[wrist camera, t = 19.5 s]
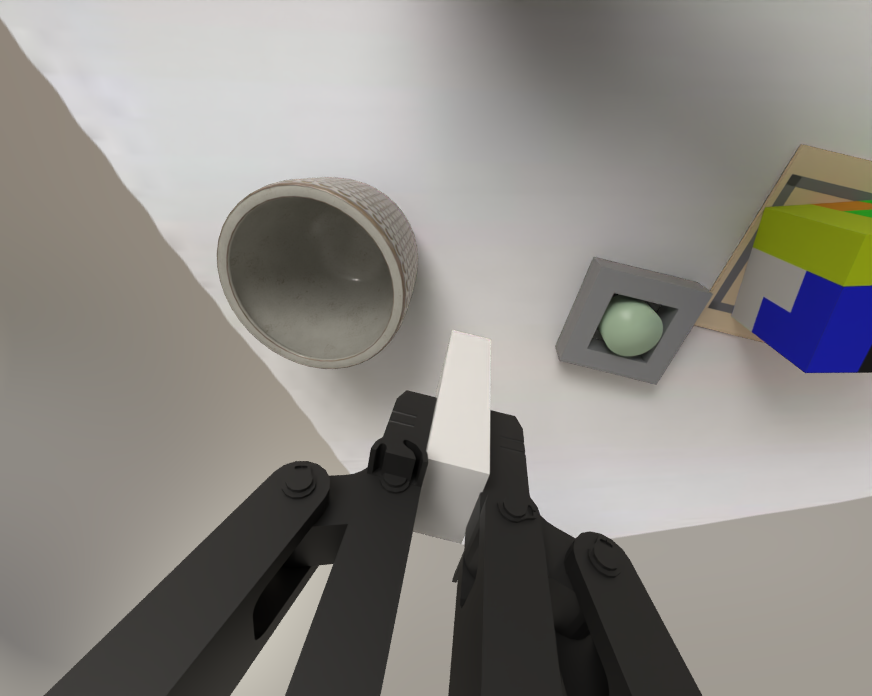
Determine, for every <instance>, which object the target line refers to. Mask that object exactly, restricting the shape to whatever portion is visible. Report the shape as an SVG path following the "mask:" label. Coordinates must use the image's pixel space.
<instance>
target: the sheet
mask: <svg viewBox="0 0 872 696" xmlns="http://www.w3.org/2000/svg"><path fill="white" fill-rule="evenodd" d="M865 200H872V161H869V160H865V159H861V158H856V157H852V156H848V155H844V154H840V153H836V152H832V151H827V150H823V149H819V148H815V147H811V146H807V145H800V147H799V148H798V150H797V151H796V153H795V155H794V156H793V158H792V159H791V161H790V163H789V164H788V166H787V167H786V169H785V171H784V172H783V174H782V176H781V177H780V179H779V180H778V182H777V184H776V185H775V187H774V188H773V190H772V192H771V193H770V195H769V197H768V198H767V200H766V201H765V203H764V205H763V206H762V208H761V209H760V211H759V213H758V214H757V216H756V218H755V219H754V221H753V222H752V224H751V226H750V227H749V229H748V230H747V232H746V234H745V235H744V237H743V238H742V240H741V242H740V243H739V245H738V247H737V248H736V250H735V251H734V253H733V255H732V256H731V258H730V259H729V261H728V263H727V264H726V266H725V268H724V269H723V271H722V272H721V274H720V276H719V277H718V279H717V280H716V282H715V284H714V285H713V287H712V289H711V290H710V292H711V293H713V295H712V297H711V299H710V300H709V302H708V303H707V305H706V306H705V308H704V310H703V311H702V313H701V314H700V316H699V318H698V319H697V321H696V322H695V324H694V325H695V326H699V327H703V328H707V329H711V330H715V331H719V332H723V333H727V334H731V335H735V336H740V337H744V338H748V339H752V340H756V341H760V342H764V341H763V340H761V339H760V338H759V337H757V336H756V335H755V334H754V333H752V332H751V331H750V330H748V329H747V328H746V327H744V326H743V325H742V324H740V323H739V322H738V321H737V320H735V319H734V318H733V317H731V315H732V312H733V309H734V306H735V302H736V299H737V296H738V293H739V289H740V286H741V283H742V280H743V276H744V273H745V270H746V267H747V263H748V260H749V257H750V254H751V250H752V247H753V244H754V241H755V237H756V234H757V231H758V228H759V224H760V221H761V218H762V215H763V211H764V208H765V207H775V206H790V205H805V204H820V203H835V202H850V201H865ZM764 343H765V342H764Z"/></svg>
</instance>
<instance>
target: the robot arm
mask: <svg viewBox="0 0 872 696" xmlns="http://www.w3.org/2000/svg"><path fill="white" fill-rule="evenodd" d="M490 383H491V339H487V338H483V337H479V336H475V335H471V334H467V333H463V332H459V331H455V330H452V333H451V337H450V341H449V344H448V348H447V352H446V356H445V360H444V364H443V367H442V371H441V375H440V379H439V383H438V386H437V391H436V396H435V397H431V396H427V395H423V394H419V393H415V392H411V391H405V392H404V393H403V394H402V395H401V396H399V397H398V398H397V400H396V403H395V405H394V408H393V411H392V414H391V416H390V419H389V422H388V425H387V427H386V430H385V433H384V436H383V437H382V438H380V439H379V440H377V441H376V442H375V443H374V445H373V446H372V448H371V451H370V457H369V463H368V467H367V468H366V469H364V470H362V471H360V472H358V473H355V474H350V475H337V476H328V474H327V472H326V470H325V469H323V468H322V467H321V466H319V465H318V464H315V463H311V462H308V461H295V462H293V463H289V464H286V465H283V466H282V467H281V468H279V469H278V470H276V471H275V472H274V473H273V474H272V475H271V476H269V478H267V480H266V481H265V482H263V483H262V484H261V485H260V486H259V487H258V488H257V489H256V490H255V491H254V492H253V493H252V494H251V495H250V496H249V497H248V498H247V499H246V500H245V501H244V502H243V503H242V504H241V505H240V506H239V507H238V508H237V509H236V510H234V511H233V513H231V514H230V515H229V516H228V517H227V518H226V519H225V520H224V521H223V522H222V523H221V524H220V525H219V526H218V527H217V528H216V529H215V530H214V531H213V532H212V533H211V534H210V535H209V536H208V537H207V538H206V539H205V540H204V541H203V542H202V543H200V544H199V545H198V546H197V547H196V548H195V549H194V550H193V551H192V552H191V553H190V554H189V555H188V556H187V557H186V558H185V559H184V560H183V561H182V562H181V563H180V564H179V565H178V566H177V567H176V568H175V569H174V570H173V571H172V572H171V573H170V574H169V575H168V576H167V577H165V578H164V579H163V580H162V581H161V582H160V583H159V584H158V585H157V586H156V587H155V588H154V589H153V590H152V591H151V592H150V593H149V594H148V595H147V596H146V597H145V598H144V599H143V600H142V601H141V602H140V603H139V604H138V605H137V606H136V607H135V608H134V609H133V610H132V611H131V612H130V613H129V614H127V615H126V616H125V617H124V618H123V619H122V620H121V621H120V622H119V623H118V624H117V625H116V626H115V627H114V628H113V629H112V630H111V631H110V632H109V633H108V634H107V635H106V636H105V637H104V638H103V639H102V640H101V641H100V642H99V643H98V644H97V645H95V646H94V647H93V648H92V650H90V651H89V652H88V653H87V654H86V655H85V656H84V657H83V658H82V659H81V660H80V661H79V662H78V663H77V664H76V665H75V666H74V667H73V668H72V669H71V670H70V671H69V672H68V673H67V674H66V675H65V676H64V677H63V678H62V679H61V680H59V681H58V683H56V684H55V685H54V686H53V687H52V688H51V689H50V690H49V691H48V692H47V693H46V694H45V695H44V696H230V695H231V693H232V692H233V690H234V689H235V688H236V686H237V685H238V683H239V682H240V680H241V679H242V677H243V676H244V674H245V673H246V672H247V670H248V669H249V667H250V666H251V664H252V663H253V661H254V660H255V658H256V657H257V655H258V654H259V652H260V651H261V650H262V648H263V646H264V645H265V644H266V642H267V641H268V639H269V638H270V636H271V635H272V633H273V632H274V630H275V629H276V628H277V626H278V624H279V623H280V622H281V620H282V619H283V617H284V616H285V614H286V613H287V611H288V610H289V609H290V607H291V606H292V604H293V603H294V601H295V600H296V598H297V597H298V595H299V594H300V592H301V591H302V589H303V588H304V587H305V585H306V584H307V582H308V581H309V579H310V578H311V576H312V575H313V573H314V572H315V570H316V569H317V568H318V566H319V565H327V564H333V567H332V569H331V572H330V575H329V578H328V581H327V583H326V586H325V589H324V591H323V594H322V597H321V600H320V602H319V605H318V608H317V610H316V613H315V616H314V618H313V621H312V624H311V627H310V630H309V632H308V635H307V637H306V641H305V643H304V646H303V648H302V651H301V654H300V657H299V660H298V662H297V665H296V667H295V670H294V673H293V676H292V678H291V681H290V684H289V686H288V689H287V692H286V695H285V696H380V694H381V689H382V684H383V679H384V674H385V669H386V664H387V659H388V654H389V649H390V643H391V638H392V634H393V629H394V624H395V618H396V613H397V608H398V603H399V598H400V593H401V588H402V583H403V578H404V573H405V568H406V563H407V557H408V553H409V547H410V543H411V538H412V533H413V532H417V533H421V534H425V535H429V536H433V537H437V538H440V539H444V540H448V541H452V542H456V543H460V544H461V543H462V541H463V538H464V536H465V549H464V552H463V554H462V557H461V559H460V562H459V564H458V566H457V569H456V571H455V574H454V577H453V581H452V582H457V580H458V585H457V596H456V610H455V621H454V635H453V646H452V658H451V670H450V683H449V695H448V696H702V694H701V692H700V690H699V689H698V687H697V685H696V683H695V681H694V679H693V677H692V675H691V674H690V672H689V670H688V668H687V666H686V664H685V662H684V660H683V659H682V657H681V655H680V653H679V651H678V649H677V648H676V645H675V644H674V642H673V640H672V638H671V636H670V634H669V632H668V630H667V629H666V627H665V625H664V623H663V621H662V619H661V617H660V615H659V614H658V612H657V610H656V608H655V606H654V604H653V602H652V600H651V598H650V597H649V595H648V593H647V591H646V589H645V587H644V585H643V584H642V582H641V580H640V578H639V576H638V575H637V572H636V570H635V568H634V567H633V565H632V563H631V561H630V559H629V558H628V557H627V555H626V554H625V552H624V551H623V550H622V548H620V547H619V546H618V545H617V544H616V543H615V542H613V540H611V539H609V538H607V537H606V536H604V535H602V534H599V533H595V532H585V533H581V534H580V535H579V536H578V537H577V538H574V537H572V536H570V535H568V534H567V533H565V532H563V531H561V530H559V529H558V528H556V527H554V526H553V525H551V524H550V523H548V522H547V521H546V520H545V519H544V518H543V517H541V516H540V513H539V510H538V507H537V506H536V504H535V503H534V502H533V500H532V499H531V498H530V494H529V486H528V476H527V466H526V456H525V446H524V436H523V429H522V427H521V425H520V423H519V422H518V420H517V418H516V417H515V416H512V415H508V414H504V413H500V412H496V411H492V410H490Z"/></svg>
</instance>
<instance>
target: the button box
mask: <svg viewBox="0 0 872 696" xmlns="http://www.w3.org/2000/svg"><path fill="white" fill-rule="evenodd" d="M614 293H616V294H620V295H625V296H629V297H633V298H637V299H641V300H645V301H649V302H653V303H657V304H661V306H660V308H659V310H658V311H657V313H656V314H657V315H658V316H659V317H660V319H661V321H662V324H663V332H662V335H661V338H660V340H659V341H658V343H657V344H656V345H655V346H654V347H653V348H651V349H650V350H649V351H647V352H645V353H643V354H640V355H636V356H622V355H618V354H616V353H614V352H613V351H611V350H610V349H609V348H608V346H607V345H606V343H605V341H604V340H600V339H596V338H592V337H593V335H594V333H595V331H596V329H597V327H598V325H599V323H600V321H601V319H602V316H603V314H604V312H605V310H606V308H607V306H608V304H609V302H610V300H611V298H612V296H613V294H614ZM712 295H713V293H711V292H710V291H709V290H707V289H706V288H704V287H703V286H702V285H700V284H699V283H698V282H694V281H690V280H686V279H682V278H678V277H674V276H669V275H665V274H661V273H657V272H653V271H649V270H645V269H641V268H637V267H633V266H629V265H625V264H621V263H616V262H612V261H608V260H604V259H600V258H596V257H594V258H593V260H592V262H591V265H590V267H589V269H588V271H587V274H586V276H585V278H584V281H583V283H582V285H581V288H580V290H579V292H578V295H577V297H576V299H575V302H574V304H573V306H572V309H571V311H570V313H569V316H568V318H567V320H566V323H565V325H564V327H563V330H562V332H561V334H560V337H559V339H558V341H557V344H556V346H555V347H556V350H557V354H558V357H559V360H560V361H563V362H567V363H571V364H575V365H579V366H583V367H587V368H591V369H595V370H599V371H603V372H607V373H612V374H616V375H620V376H624V377H628V378H632V379H636V380H640V381H644V382H648V383H652V384H656V385H657V383H658V381H659V380H660V378H661V377H662V375H663V373H664V372H665V370H666V369H667V367H668V365H669V364H670V362H671V361H672V359H673V357H674V356H675V354H676V353H677V351H678V350H679V348H680V346H681V345H682V343H683V342H684V340H685V338H686V337H687V335H688V334H689V332H690V330H691V329H692V327H693V326H694V324H695V322H696V321H697V319H698V318H699V316H700V314H701V313H702V311H703V310H704V308H705V306H706V305H707V303H708V302H709V300H710V299H711V297H712Z"/></svg>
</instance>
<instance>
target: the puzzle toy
mask: <svg viewBox="0 0 872 696" xmlns="http://www.w3.org/2000/svg"><path fill="white" fill-rule="evenodd" d="M731 317H733V318H734V319H735V320H737V321H738V322H739V323H740V324H742V325H743V326H744V327H746V328H747V329H748V330H750V331H751V332H752V333H754V334H755V335H756V336H757V337H759V338H760V339H761V340H763V341H764V342H765V343H767V344H768V345H769V346H770V347H772V348H773V349H774V350H776V351H777V352H778V353H780V354H781V355H782V356H784V357H785V358H786V359H787V360H789V361H790V362H791V363H793V364H794V365H795V366H797V367H798V368H799V369H801V370H802V371H803V372H804V373H871V372H872V200H865V201H850V202H835V203H820V204H805V205H790V206H775V207H765V208H764V211H763V215H762V218H761V221H760V224H759V228H758V231H757V234H756V237H755V241H754V244H753V247H752V250H751V254H750V257H749V260H748V263H747V267H746V270H745V273H744V276H743V280H742V283H741V286H740V289H739V293H738V296H737V299H736V302H735V306H734V309H733V312H732V315H731Z"/></svg>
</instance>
